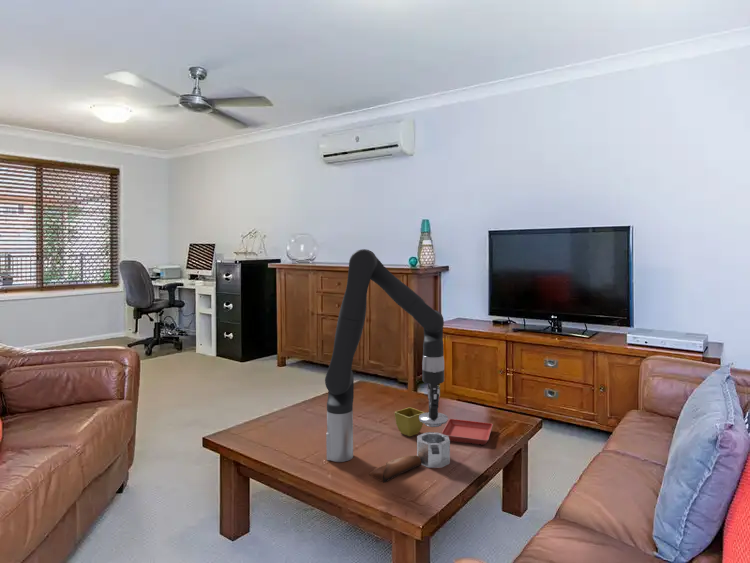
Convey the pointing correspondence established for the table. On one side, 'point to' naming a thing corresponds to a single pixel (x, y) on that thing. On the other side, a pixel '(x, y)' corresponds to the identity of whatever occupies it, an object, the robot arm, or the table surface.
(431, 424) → the lid
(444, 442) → the pot
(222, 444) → the table surface
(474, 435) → the plant saucer
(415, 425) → the flower pot
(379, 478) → the sunglasses case
